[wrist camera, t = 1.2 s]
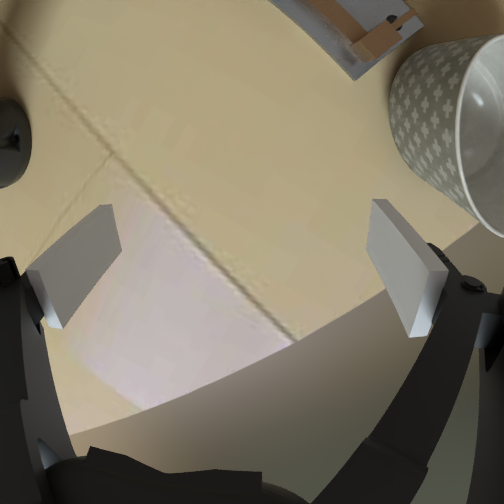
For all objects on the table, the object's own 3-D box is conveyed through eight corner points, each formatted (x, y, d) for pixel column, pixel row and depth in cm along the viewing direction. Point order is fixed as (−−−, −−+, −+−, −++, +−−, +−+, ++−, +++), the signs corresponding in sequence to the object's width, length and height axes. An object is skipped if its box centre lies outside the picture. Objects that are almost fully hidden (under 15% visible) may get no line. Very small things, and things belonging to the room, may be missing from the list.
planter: (457, 205, 39) (531, 269, 23) (354, 136, 36) (415, 172, 20) (510, 103, 30) (598, 127, 14) (415, 19, 27) (498, -11, 11)
